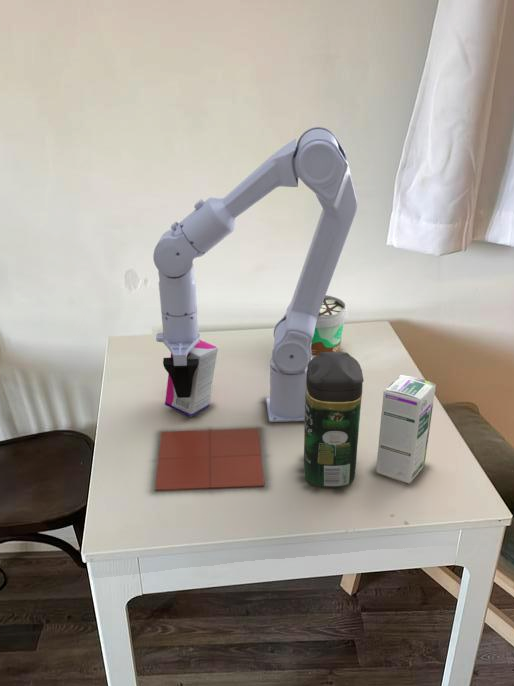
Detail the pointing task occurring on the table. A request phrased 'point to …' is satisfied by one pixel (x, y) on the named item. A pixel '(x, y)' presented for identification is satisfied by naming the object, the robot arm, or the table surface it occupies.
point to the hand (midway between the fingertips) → (184, 385)
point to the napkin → (209, 460)
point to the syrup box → (405, 427)
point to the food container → (329, 326)
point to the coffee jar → (332, 419)
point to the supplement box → (195, 381)
